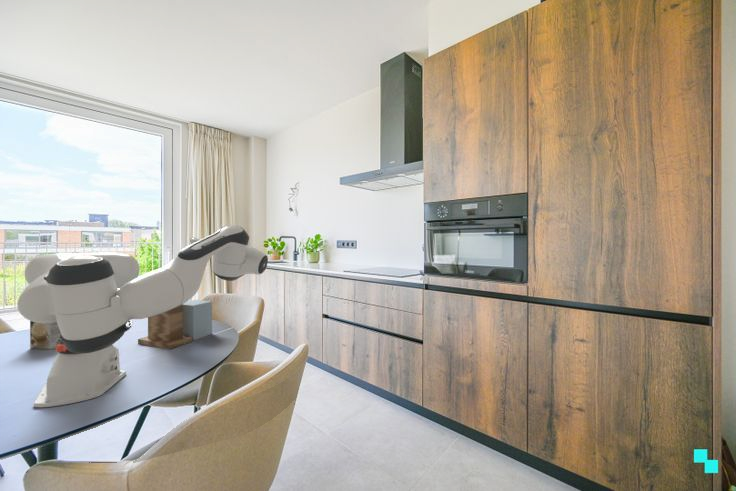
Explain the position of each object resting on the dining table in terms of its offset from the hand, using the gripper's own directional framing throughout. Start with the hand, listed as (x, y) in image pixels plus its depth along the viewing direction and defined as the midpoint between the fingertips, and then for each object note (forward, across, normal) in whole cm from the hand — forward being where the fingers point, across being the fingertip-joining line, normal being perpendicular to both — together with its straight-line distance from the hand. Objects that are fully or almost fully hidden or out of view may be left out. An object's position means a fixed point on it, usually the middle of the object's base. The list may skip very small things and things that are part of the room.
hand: (201, 240), depth 119 cm
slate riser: (+4, +16, -46) cm, 48 cm away
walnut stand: (+8, +5, -47) cm, 48 cm away
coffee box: (+46, -12, -60) cm, 77 cm away
